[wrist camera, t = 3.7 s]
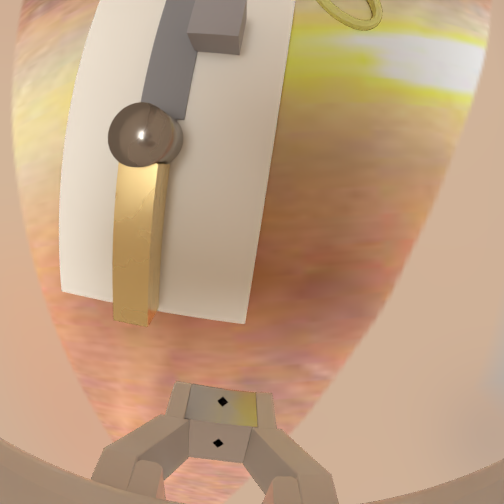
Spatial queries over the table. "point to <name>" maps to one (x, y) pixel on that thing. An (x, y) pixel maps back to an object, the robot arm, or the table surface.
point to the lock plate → (193, 149)
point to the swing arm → (140, 206)
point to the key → (351, 21)
